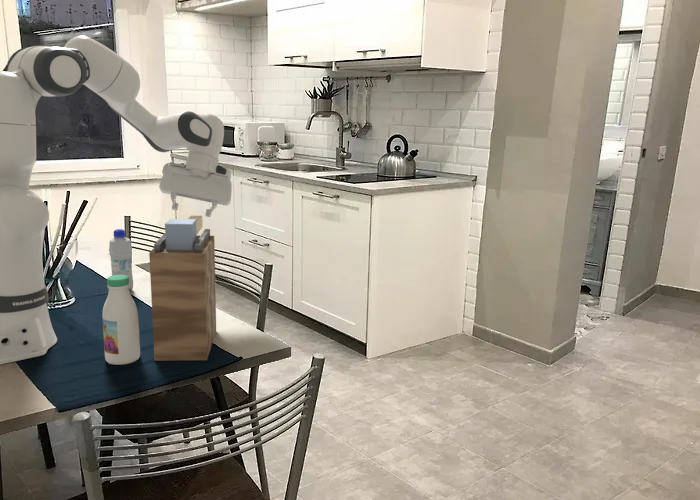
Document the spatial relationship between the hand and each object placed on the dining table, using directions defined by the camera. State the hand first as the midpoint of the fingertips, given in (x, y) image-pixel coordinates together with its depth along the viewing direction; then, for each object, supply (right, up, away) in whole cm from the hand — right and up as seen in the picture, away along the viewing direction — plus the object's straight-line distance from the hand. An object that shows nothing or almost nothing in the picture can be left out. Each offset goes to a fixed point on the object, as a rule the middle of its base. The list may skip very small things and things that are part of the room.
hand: (191, 212), depth 166 cm
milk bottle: (-8, -36, -30) cm, 48 cm away
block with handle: (+5, -7, -21) cm, 22 cm away
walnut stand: (+5, -34, -21) cm, 41 cm away
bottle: (-26, -24, +17) cm, 39 cm away
